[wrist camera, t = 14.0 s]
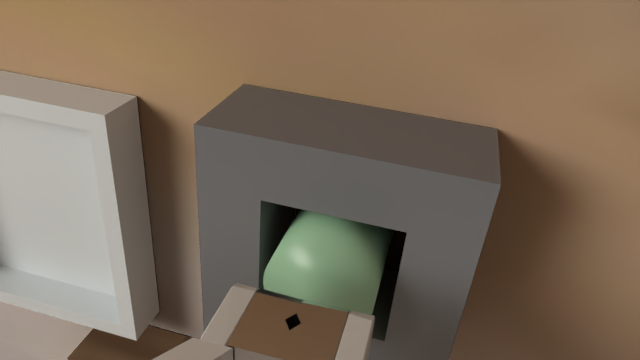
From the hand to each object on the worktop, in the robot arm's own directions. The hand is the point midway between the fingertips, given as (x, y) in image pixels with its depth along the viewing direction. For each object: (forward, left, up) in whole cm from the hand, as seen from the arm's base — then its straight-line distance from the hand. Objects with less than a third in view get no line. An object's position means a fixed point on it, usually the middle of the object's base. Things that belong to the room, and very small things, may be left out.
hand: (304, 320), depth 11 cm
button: (+1, 0, -5) cm, 5 cm away
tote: (+3, -11, -5) cm, 13 cm away
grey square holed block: (+1, 0, -5) cm, 5 cm away
